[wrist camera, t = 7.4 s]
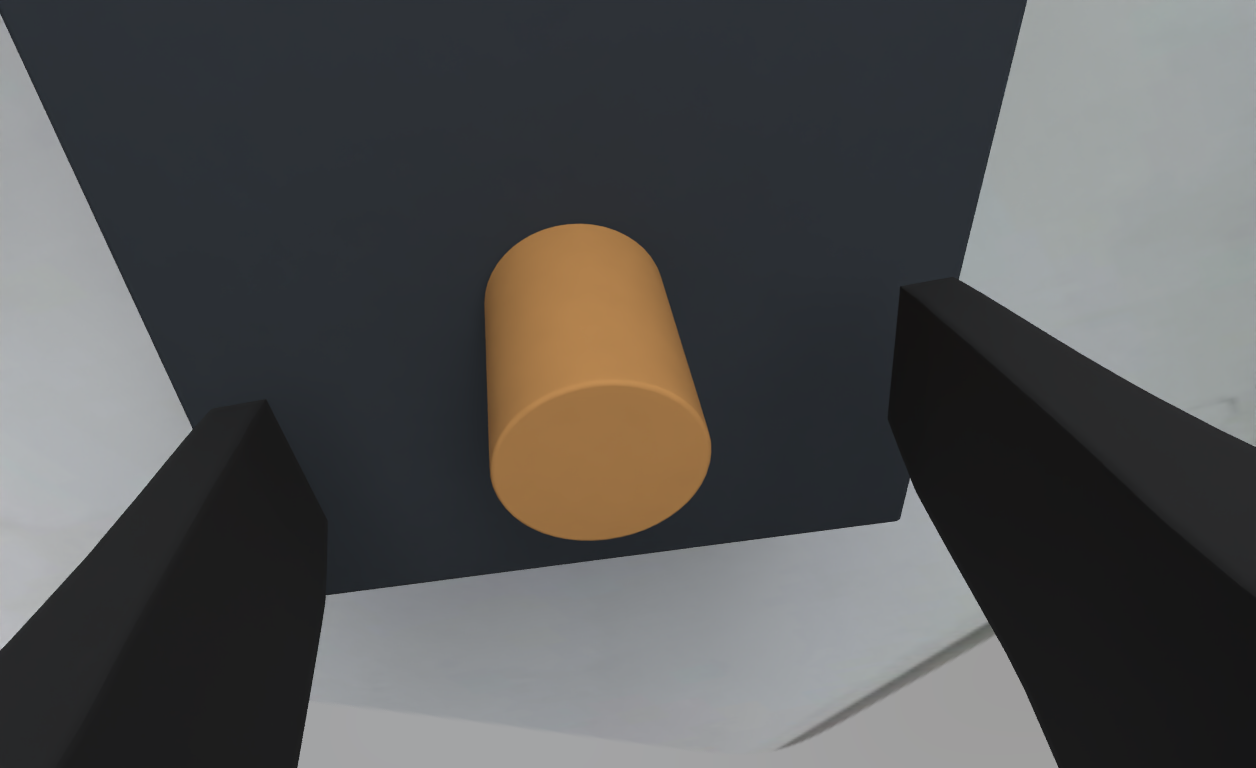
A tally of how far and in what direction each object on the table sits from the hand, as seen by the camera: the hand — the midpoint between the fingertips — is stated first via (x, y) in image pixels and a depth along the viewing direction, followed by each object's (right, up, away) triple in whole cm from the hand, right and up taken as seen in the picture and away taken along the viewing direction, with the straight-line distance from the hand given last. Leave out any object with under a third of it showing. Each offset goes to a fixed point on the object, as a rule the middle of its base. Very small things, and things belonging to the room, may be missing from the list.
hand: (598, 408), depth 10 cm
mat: (0, +2, +2) cm, 3 cm away
